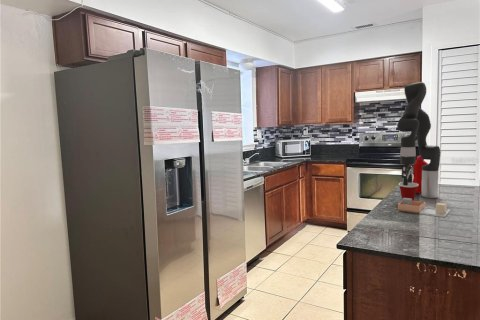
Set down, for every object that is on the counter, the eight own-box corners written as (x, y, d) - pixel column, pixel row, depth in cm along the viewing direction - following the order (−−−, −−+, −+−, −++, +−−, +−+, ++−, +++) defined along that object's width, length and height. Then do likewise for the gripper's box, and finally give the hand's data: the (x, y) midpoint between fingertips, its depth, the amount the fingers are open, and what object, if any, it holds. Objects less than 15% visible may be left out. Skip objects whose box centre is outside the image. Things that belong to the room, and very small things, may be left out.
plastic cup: (397, 204, 196) (397, 184, 195) (398, 200, 206) (398, 181, 205) (418, 206, 191) (418, 185, 190) (418, 201, 201) (418, 182, 200)
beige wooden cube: (437, 211, 177) (437, 202, 176) (446, 212, 174) (446, 203, 174) (435, 213, 174) (435, 204, 173) (444, 214, 171) (444, 205, 171)
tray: (426, 208, 185) (426, 206, 185) (450, 211, 177) (450, 209, 177) (419, 214, 175) (419, 212, 175) (444, 217, 167) (444, 215, 167)
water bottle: (407, 191, 231) (407, 155, 228) (423, 190, 231) (423, 155, 228) (413, 194, 222) (414, 157, 219) (430, 193, 221) (431, 156, 219)
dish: (404, 206, 192) (404, 199, 191) (425, 209, 184) (425, 202, 184) (397, 210, 183) (397, 203, 182) (419, 213, 176) (419, 206, 175)
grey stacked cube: (403, 206, 188) (404, 197, 188) (411, 207, 185) (412, 198, 185) (401, 207, 185) (401, 199, 185) (409, 208, 182) (409, 200, 182)
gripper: (404, 153, 190) (404, 181, 191) (396, 156, 179) (396, 185, 181) (418, 153, 184) (418, 182, 186) (411, 156, 174) (411, 186, 176)
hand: (407, 183), depth 184 cm, fingers open, 8 cm apart
